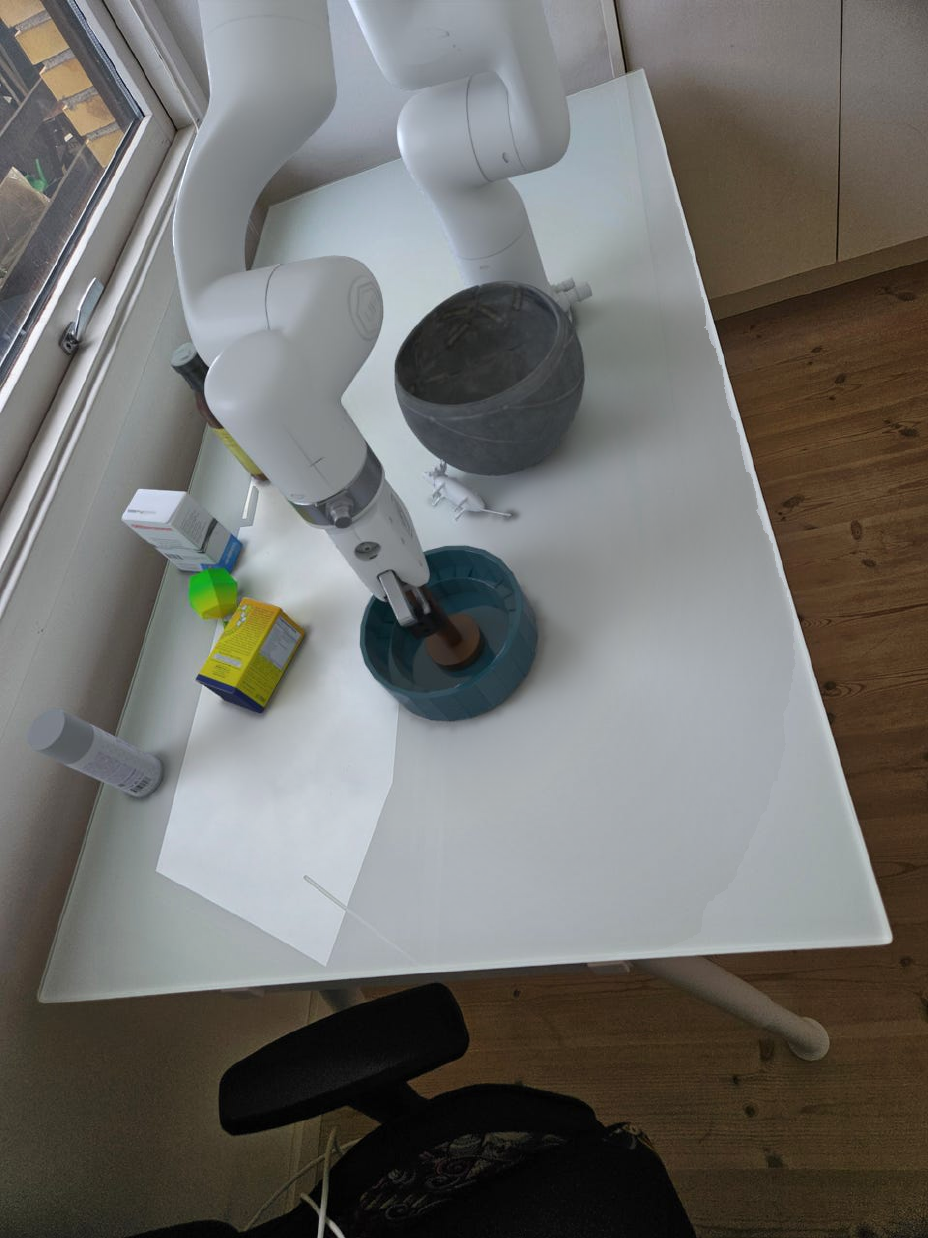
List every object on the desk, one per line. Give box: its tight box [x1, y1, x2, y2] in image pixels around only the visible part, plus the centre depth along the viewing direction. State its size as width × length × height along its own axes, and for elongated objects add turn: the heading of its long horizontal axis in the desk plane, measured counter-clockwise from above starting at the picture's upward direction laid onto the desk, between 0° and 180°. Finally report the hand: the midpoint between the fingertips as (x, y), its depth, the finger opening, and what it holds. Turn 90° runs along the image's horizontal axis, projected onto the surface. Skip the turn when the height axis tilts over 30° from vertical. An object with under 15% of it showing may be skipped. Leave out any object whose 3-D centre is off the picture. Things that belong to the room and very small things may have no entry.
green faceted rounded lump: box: [187, 568, 239, 631], centre depth 98 cm, size 7×6×9 cm
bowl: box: [393, 281, 586, 477], centre depth 91 cm, size 21×21×15 cm
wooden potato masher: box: [398, 576, 484, 671], centre depth 79 cm, size 6×6×16 cm
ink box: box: [120, 488, 243, 575], centre depth 101 cm, size 9×5×12 cm, turn 71°
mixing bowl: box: [359, 544, 539, 723], centre depth 83 cm, size 17×17×6 cm
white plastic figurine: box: [421, 459, 513, 522], centre depth 93 cm, size 12×5×5 cm
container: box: [27, 707, 164, 798], centre depth 86 cm, size 5×5×15 cm
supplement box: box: [194, 596, 307, 715], centre depth 91 cm, size 6×6×11 cm
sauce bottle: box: [169, 341, 270, 482], centre depth 103 cm, size 6×6×20 cm
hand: (418, 590), depth 76 cm, fingers open, 9 cm apart
